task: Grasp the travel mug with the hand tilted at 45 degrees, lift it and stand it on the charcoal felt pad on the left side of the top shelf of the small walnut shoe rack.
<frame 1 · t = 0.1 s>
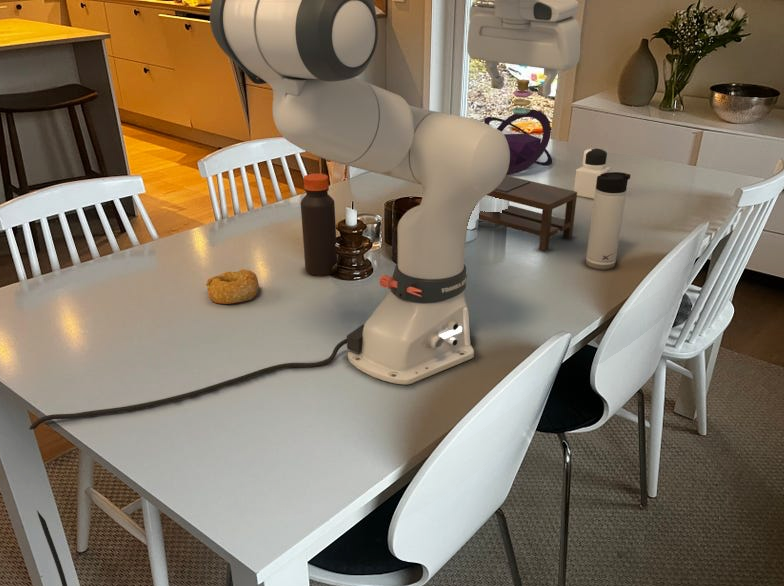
hand: (520, 91, 127), 39 cm above the table, tool pointing down, fingers open, 8 cm apart
bagel: (233, 296, 147), on the table
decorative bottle: (516, 167, 226), on the table
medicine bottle: (590, 195, 204), on the table
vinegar: (321, 271, 158), on the table
travel mug: (600, 265, 161), on the table
shoe rack: (518, 233, 177), on the table
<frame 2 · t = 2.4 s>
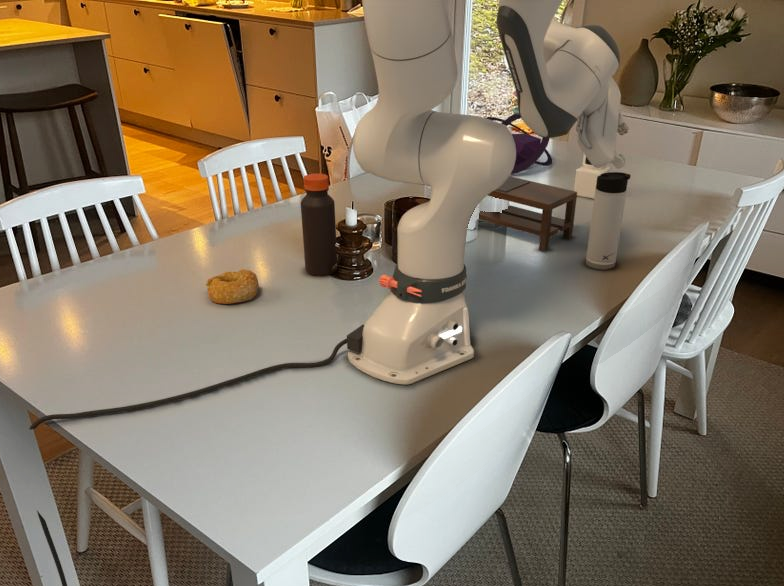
hand: (623, 147, 140), 27 cm above the table, tool tilted 45°, fingers open, 8 cm apart
nothing on the table moved.
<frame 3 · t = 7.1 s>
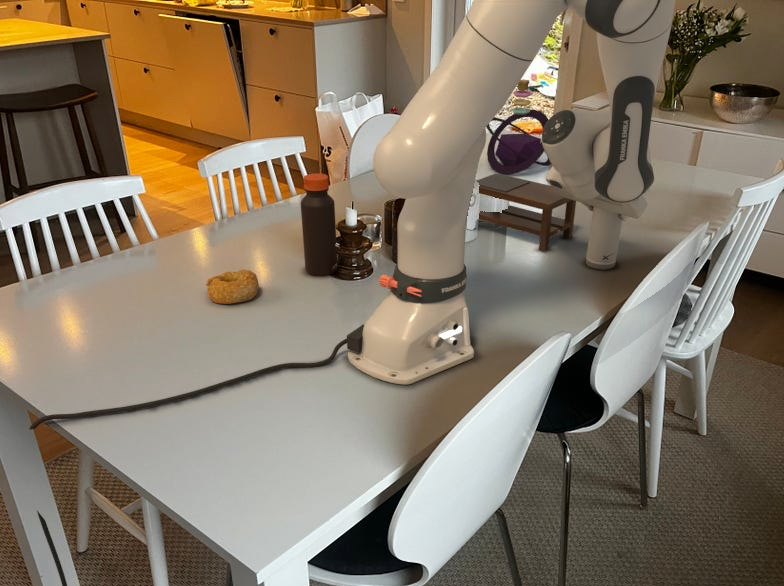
hand: (609, 212, 156), 11 cm above the table, tool tilted 45°, fingers closed on travel mug, 6 cm apart
travel mug: (600, 265, 161), on the table, touching gripper
everything else where it was.
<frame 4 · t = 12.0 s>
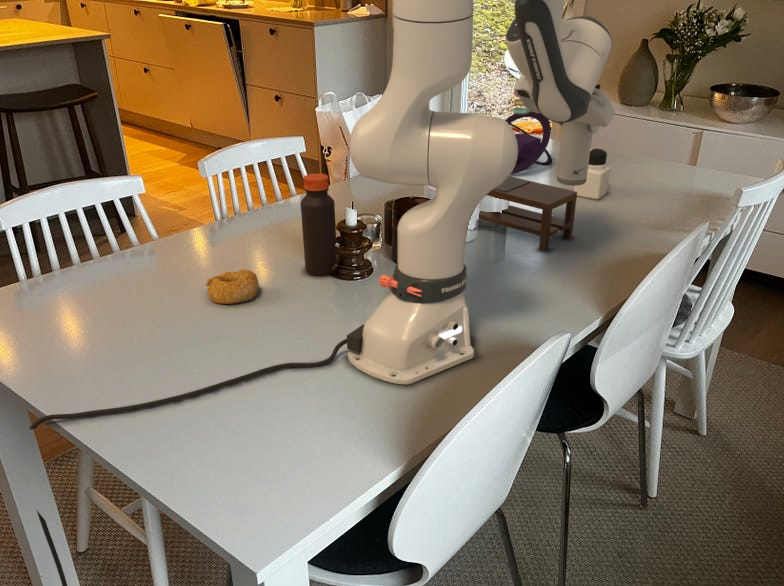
hand: (579, 127, 154), 27 cm above the table, tool tilted 45°, fingers closed on travel mug, 6 cm apart
travel mug: (571, 182, 160), point 16 cm above the table, touching gripper
everything else where it was.
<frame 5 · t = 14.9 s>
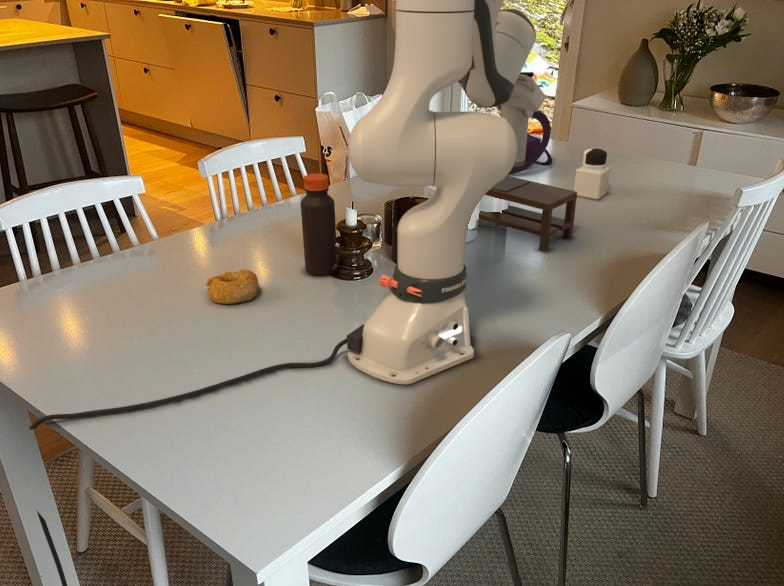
hand: (516, 112, 166), 27 cm above the table, tool tilted 45°, fingers closed on travel mug, 6 cm apart
travel mug: (511, 164, 171), point 16 cm above the table, touching gripper
everything else where it was.
when the fingers open (23 cm above the table, at t = 17.2 s): travel mug stays where it is, resting on shoe rack.
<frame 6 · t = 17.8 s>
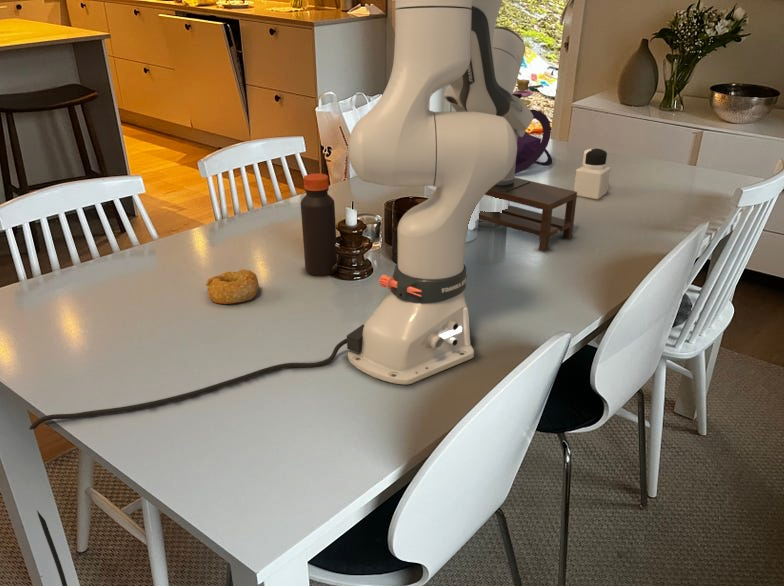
hand: (505, 130, 169), 23 cm above the table, tool tilted 45°, fingers open, 8 cm apart
travel mug: (501, 182, 175), point 11 cm above the table, touching shoe rack
everything else where it was.
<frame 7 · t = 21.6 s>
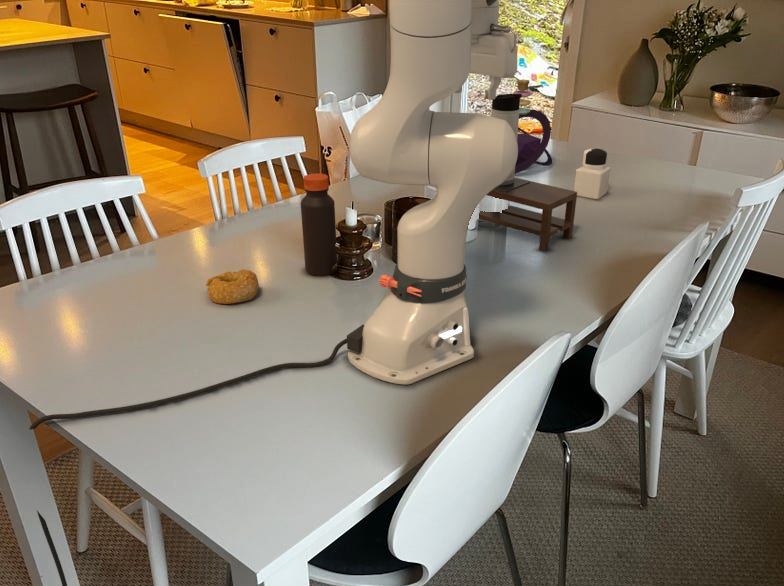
hand: (473, 95, 153), 33 cm above the table, tool pointing down, fingers open, 8 cm apart
nothing on the table moved.
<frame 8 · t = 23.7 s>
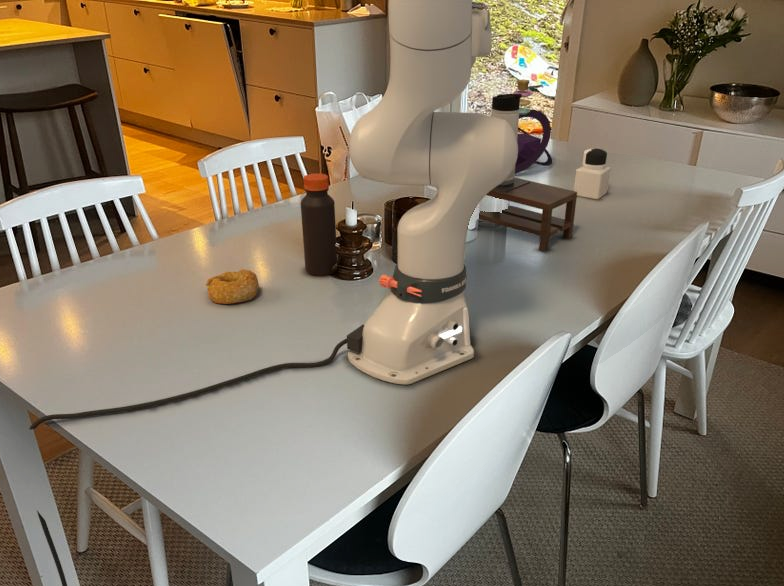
hand: (447, 75, 149), 37 cm above the table, tool pointing down, fingers open, 8 cm apart
nothing on the table moved.
at the end: travel mug inside the target area on the shoe rack (0.7 cm from its centre), point 11.0 cm above the shoe rack's base; travel mug tilted 0°; the gripper is holding nothing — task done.
